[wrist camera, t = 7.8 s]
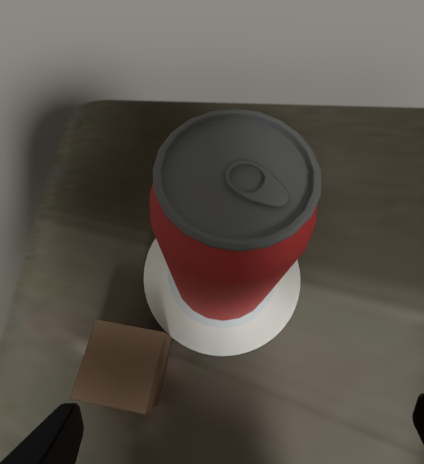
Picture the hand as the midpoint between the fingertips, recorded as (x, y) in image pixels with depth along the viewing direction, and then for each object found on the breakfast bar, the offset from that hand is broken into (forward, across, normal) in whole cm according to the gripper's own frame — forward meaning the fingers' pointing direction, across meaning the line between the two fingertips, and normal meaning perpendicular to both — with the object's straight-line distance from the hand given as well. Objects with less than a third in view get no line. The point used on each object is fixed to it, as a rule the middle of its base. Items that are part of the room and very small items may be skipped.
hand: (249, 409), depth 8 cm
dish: (+14, 0, +3) cm, 14 cm away
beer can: (+13, 0, +3) cm, 13 cm away
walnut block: (+10, +6, +8) cm, 14 cm away
